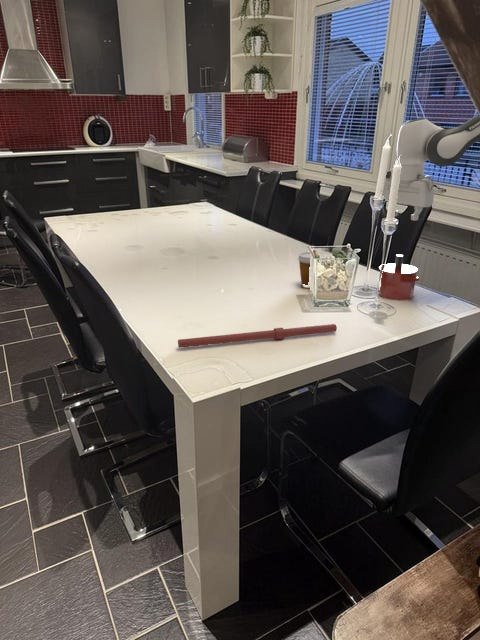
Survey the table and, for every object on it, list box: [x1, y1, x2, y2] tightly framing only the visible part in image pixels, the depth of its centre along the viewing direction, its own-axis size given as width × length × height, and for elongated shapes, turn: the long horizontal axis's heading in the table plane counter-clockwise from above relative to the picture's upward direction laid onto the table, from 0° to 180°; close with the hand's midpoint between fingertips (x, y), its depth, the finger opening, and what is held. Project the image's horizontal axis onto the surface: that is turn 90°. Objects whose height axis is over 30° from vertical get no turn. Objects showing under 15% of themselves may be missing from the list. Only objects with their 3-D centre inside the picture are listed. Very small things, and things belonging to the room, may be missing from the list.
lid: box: [378, 254, 419, 275], centre depth 159 cm, size 13×13×6 cm
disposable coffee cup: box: [297, 251, 311, 285], centre depth 174 cm, size 10×10×12 cm
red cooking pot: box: [379, 270, 420, 301], centre depth 161 cm, size 12×17×10 cm
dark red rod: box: [177, 323, 338, 349], centre depth 129 cm, size 45×3×3 cm, turn 102°
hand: (403, 218), depth 153 cm, fingers open, 8 cm apart
